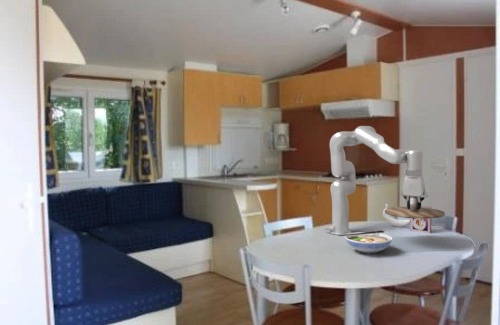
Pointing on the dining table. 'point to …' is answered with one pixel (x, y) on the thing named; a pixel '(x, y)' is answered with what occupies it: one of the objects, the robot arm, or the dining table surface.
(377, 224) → the dining table surface
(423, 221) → the greeting card
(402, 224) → the banana
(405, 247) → the mat
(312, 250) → the dining table surface
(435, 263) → the dining table surface
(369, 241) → the ramen bowl
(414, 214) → the lid
